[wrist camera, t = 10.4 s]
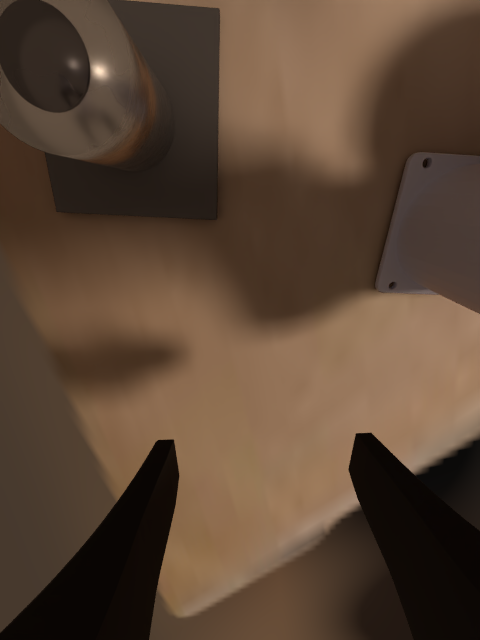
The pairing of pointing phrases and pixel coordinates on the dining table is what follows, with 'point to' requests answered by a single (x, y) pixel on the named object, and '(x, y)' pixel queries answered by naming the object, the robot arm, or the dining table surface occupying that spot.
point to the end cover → (80, 85)
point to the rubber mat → (189, 113)
